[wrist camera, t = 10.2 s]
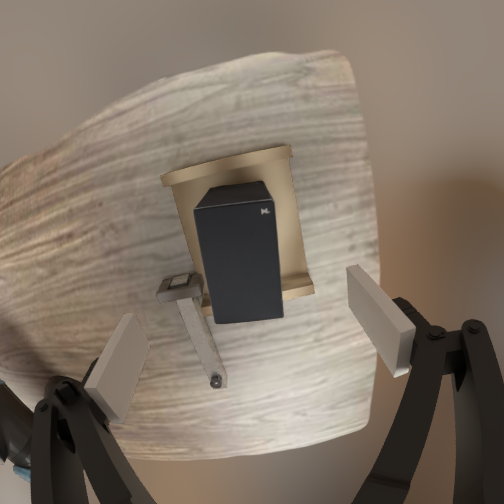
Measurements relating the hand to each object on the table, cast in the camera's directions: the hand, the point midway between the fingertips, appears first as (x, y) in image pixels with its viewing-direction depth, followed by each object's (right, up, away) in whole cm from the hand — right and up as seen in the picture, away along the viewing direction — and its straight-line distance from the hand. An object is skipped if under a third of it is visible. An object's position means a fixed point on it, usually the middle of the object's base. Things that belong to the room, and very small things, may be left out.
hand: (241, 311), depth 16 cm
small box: (-1, +6, +16) cm, 17 cm away
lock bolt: (-6, -8, +21) cm, 23 cm away
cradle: (-3, +6, +16) cm, 17 cm away
